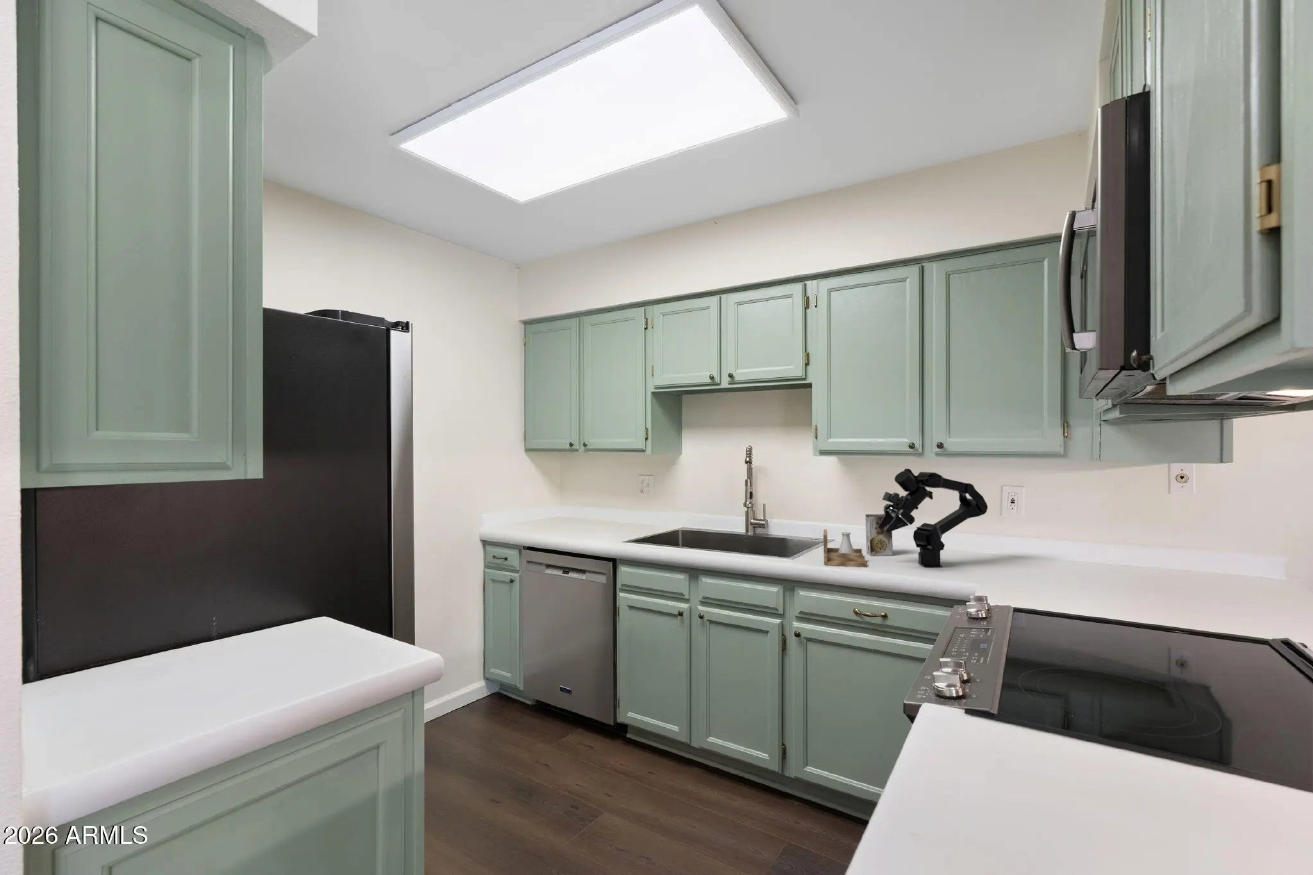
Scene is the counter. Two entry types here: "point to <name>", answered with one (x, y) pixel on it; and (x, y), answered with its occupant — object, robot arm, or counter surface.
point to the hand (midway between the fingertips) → (882, 530)
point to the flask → (846, 543)
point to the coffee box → (877, 537)
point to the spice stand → (842, 556)
